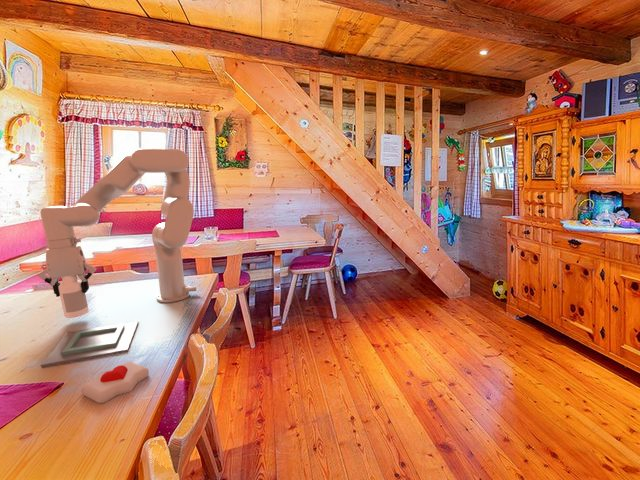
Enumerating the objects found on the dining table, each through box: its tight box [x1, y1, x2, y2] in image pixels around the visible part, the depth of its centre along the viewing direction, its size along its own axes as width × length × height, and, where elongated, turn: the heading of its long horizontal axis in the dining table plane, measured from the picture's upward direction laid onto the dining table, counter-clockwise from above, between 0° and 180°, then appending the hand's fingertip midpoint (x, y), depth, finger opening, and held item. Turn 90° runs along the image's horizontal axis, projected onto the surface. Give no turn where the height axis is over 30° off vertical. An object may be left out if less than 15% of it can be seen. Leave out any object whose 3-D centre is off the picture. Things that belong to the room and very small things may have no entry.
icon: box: [81, 361, 150, 404], centre depth 76 cm, size 12×4×10 cm
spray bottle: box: [58, 276, 89, 319], centre depth 110 cm, size 7×7×18 cm
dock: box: [40, 320, 139, 368], centre depth 97 cm, size 20×20×2 cm
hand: (72, 293), depth 110 cm, fingers closed on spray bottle, 6 cm apart
